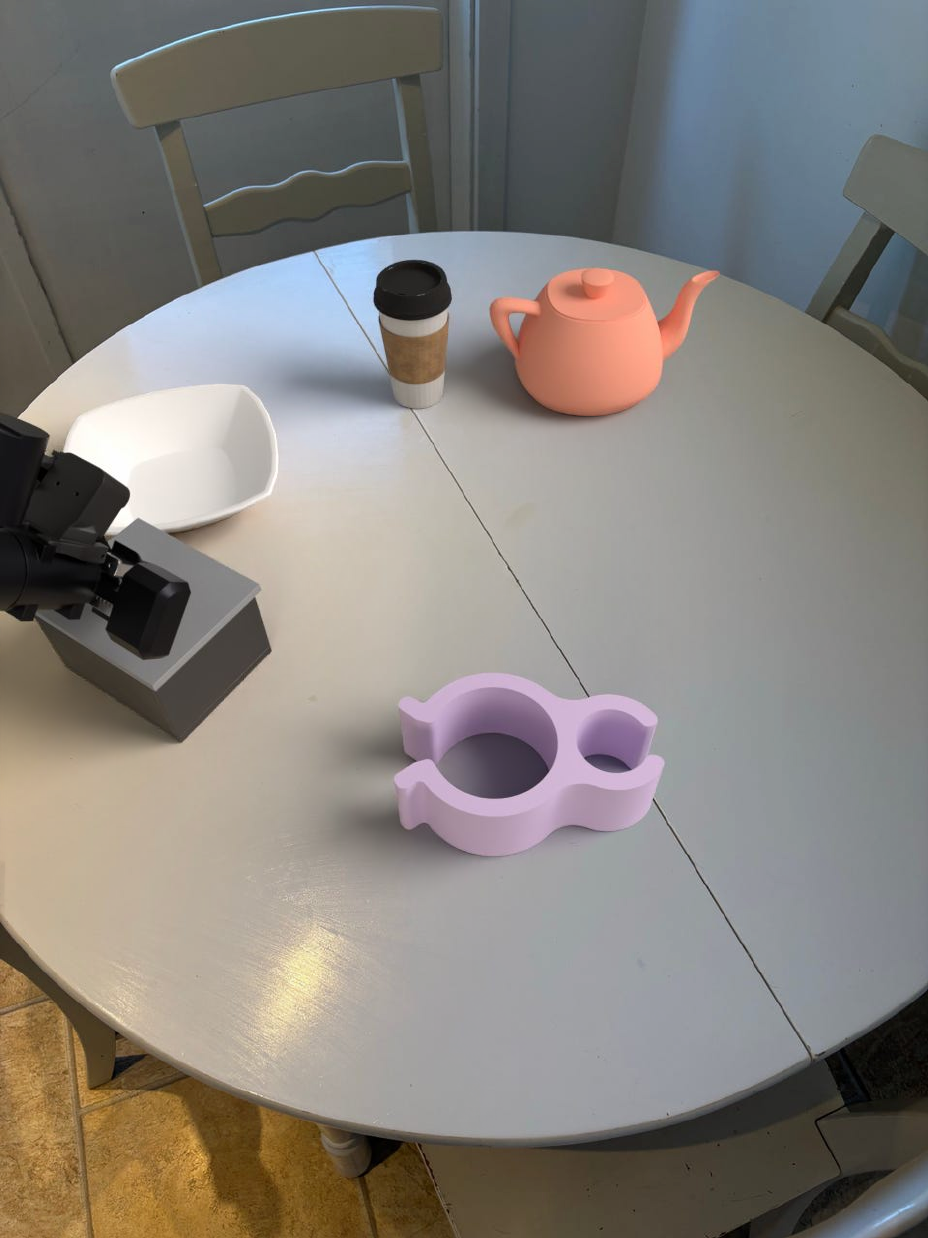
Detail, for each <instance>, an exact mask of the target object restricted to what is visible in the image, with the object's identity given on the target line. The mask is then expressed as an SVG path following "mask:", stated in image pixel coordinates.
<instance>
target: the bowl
mask: <svg viewBox="0 0 928 1238" xmlns="http://www.w3.org/2000/svg"><path fill="white" fill-rule="evenodd" d="M273 425H274V424H273V423H272V420H271V417H270V415H269V412H268V411H267V409H266V407H265V405H264V403H263V402H262V399H260V398H259V396H257V395H256V393H254V392H253V391H252V390H251V389H250V388H249V387H247V386H246V385H243V384H231V383H230V384H229V383H212V384H211V383H210V384H200V385H199V384H198V385H197V384H196V385H187V386H180V387H173V388H165V389H164V388H163V389H158V390H154V391H150V392H145V393H141V394H136V395H133V396H129V397H125V398H122V399H118V400H114V401H112V402H107V403H104V404H101V405H99V406H96V407H95V408H92V409H90V410H88V411H85V412H83V413H81V414H79V415H78V416H77V417H76V419H75V420H74V422H73V424H72V426H71V427H70V429H69V431H68V433H67V434H66V438H65V441H64V445H63V448H62V452H64V453H66V452H70V453H73V454H75V455H77V456H79V457H80V458H82V459H84V460H86V461H88V462H90V463H92V464H94V465H96V466H97V467H99V468H101V469H102V470H104V471H105V472H107V473H108V474H109V475H111V476H112V477H114V478H115V479H116V480H118V481H119V482H121V483H122V484H124V485H125V486H126V487H127V488H128V489H129V491H130V498H129V501H128V503H127V504H126V506H125V507H124V508H122V509H121V510H120V511H119V513H118V515H117V516H116V518H115V519H114V521H113V522H112V524H111V525H110V527H109V528H108V530H107V532H106V533H105V534H104V536H105V537H115V536H116V535H117V534H118V533H120V532H121V531H122V530H123V529H125V528H126V527H127V526H128V525H129V524H131V523H132V522H133V521H134V520H136V519H137V518H140V519H142V520H143V521H145V522H147V523H149V524H151V525H152V526H154V527H156V528H158V529H160V530H162V531H163V532H165V533H167V534H175V533H181V532H188V531H192V530H197V529H199V528H203V527H206V526H209V525H212V524H215V523H218V522H221V521H224V520H227V519H228V518H231V517H233V516H235V515H237V514H239V513H241V512H243V511H244V510H247V509H249V508H250V507H252V506H254V505H256V504H258V503H260V502H262V501H263V500H265V499H267V498H269V497H270V496H271V495H272V493H273V490H274V487H275V484H276V481H277V478H278V476H279V459H280V458H279V457H280V455H279V448H278V447H279V446H278V439H277V434H276V431H275V427H274V426H273Z"/></svg>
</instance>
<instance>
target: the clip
mask: <svg viewBox="0 0 928 1238" xmlns="http://www.w3.org/2000/svg"><path fill="white" fill-rule="evenodd" d="M398 712H399V719H400V729H401V736H402V742H403V751H404V753H405V754H406V755H407V756H408V757H410V758H412V759H413V760H414V761H415V762H413V763H411V764H410V765H408V766H407V767H405V768H404V769H402V770H400V771H399V772H397V773H396V774H395V775H394V778H393V783H394V789H395V795H396V796H395V797H396V801H397V808H398V809H397V810H398V815H399V822H400V824H401V826H402V827H403V828H404V829H405V830H407V831H410V830H413V829H415V828H416V827H417V826H419V825H421V824H427V825H428V826H429V827H430V828H431V830H432V831H433V832H434V833H435V834H436V835H437V836H438V837H439V838H440V839H442V840H443V841H445V842H446V843H447V844H449V845H450V846H452V847H454V848H456V849H458V850H460V851H463V852H465V853H469V854H471V855H476V856H483V857H505V856H511V855H515V854H518V853H521V852H525V851H527V850H529V849H531V848H534V847H535V846H536V845H538V844H540V843H541V842H542V841H544V840H545V839H546V838H547V837H548V836H549V835H550V834H552V833H553V832H554V831H556V830H558V829H560V828H563V827H569V826H579V827H584V828H587V829H590V830H593V831H598V832H616V831H617V832H618V831H622V830H626V829H627V828H630V827H632V826H634V825H635V824H637V823H638V822H640V820H642V819H643V818H644V817H645V816H646V815H647V813H648V812H649V810H650V808H651V805H652V803H653V799H654V796H655V794H656V790H657V787H658V785H659V781H660V779H661V776H662V773H663V769H664V767H665V760H664V759H663V757H661V756H660V755H657V754H649V751H650V748H651V745H652V741H653V739H654V736H655V732H656V729H657V725H658V722H659V718H658V716H657V715H656V714H655V713H654V711H652V710H651V709H650V708H649V707H647V706H646V705H644V704H643V703H641V702H640V701H638V700H636V699H634V698H630V697H628V696H624V695H620V694H619V695H618V694H612V693H611V694H610V693H607V694H606V693H605V694H604V693H603V694H596V695H592V696H588V697H586V698H581V699H566V698H563V697H560V696H557V695H555V694H553V693H551V692H550V691H549V690H547V689H546V688H545V687H543V686H541V685H540V684H538V683H536V682H534V681H532V680H530V679H527V678H525V677H523V676H519V675H514V674H509V673H503V672H482V673H476V674H470V675H467V676H464V677H460V678H458V679H456V680H454V681H451V682H449V683H447V684H446V685H444V686H443V687H442V688H440V689H439V690H438V691H436V692H435V693H434V694H433V695H431V696H430V698H428V700H426V701H423V702H421V701H419V700H417V699H416V698H414V697H413V696H408V695H407V696H404V697H402V698H401V699H400V701H399V702H398ZM481 734H502V735H507V736H511V737H514V738H516V739H519V740H520V741H523V742H524V743H526V744H527V745H529V747H531V748H533V749H534V750H535V751H536V752H537V753H538V754H539V756H540V758H542V760H543V761H544V762H545V763H544V764H545V765H546V767H547V769H548V773H547V774H546V775H545V777H544V778H542V780H540V782H538V783H537V784H536V785H535V786H533V787H532V788H530V789H528V790H527V791H525V792H522V793H519V794H517V795H514V796H513V795H512V796H509V797H503V798H487V797H486V798H485V797H480V796H476V795H472V794H470V793H467V792H466V791H465V792H464V791H463V790H460V789H459V788H457V787H455V785H453V784H452V783H450V782H449V781H448V780H447V779H446V778H445V777H444V776H443V774H442V773H441V772H440V771H439V769H438V767H437V766H438V765H439V763H440V761H441V760H442V758H443V757H444V755H446V753H447V752H448V751H449V750H450V749H451V748H452V747H454V746H455V745H457V744H458V743H459V742H461V741H463V740H465V739H468V738H471V737H473V736H476V735H477V736H478V735H481ZM593 755H605V756H610V757H614V758H616V759H618V760H620V761H621V762H623V763H624V764H625V765H626V766H627V767H628V768H629V769H630V770H627V771H623V772H610V771H609V772H608V771H605V770H602V769H599V768H597V767H595V766H593V765H592V764H591V763H590V762H588V761H587V760H586V759H585V758H587V757H589V756H593Z"/></svg>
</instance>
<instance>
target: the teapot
mask: <svg viewBox="0 0 928 1238" xmlns="http://www.w3.org/2000/svg"><path fill="white" fill-rule="evenodd" d="M720 274H721V273H720V270H707V271H703V272H701V273H698V274H696V275H694V276H692V277H691V278H689V280H688V281H686V282H685V284H684V285H683V286H682V287H681V289H680V290H679V293H678V295H677V297H676V300H675V302H674V304H673V307H672V308H671V310H670V311H669V312H668V314H666V315H665V316H664V317H663V318H661V319H660V320H657V316H656V314H655V311H654V309H653V307H652V305H651V302H650V300H649V297H648V296H647V294H646V292H645V290H644V288H643V286H642V285H641V283H639V281H638V280H637V279H635V278H634V277H633V276H632V275H630V274H628V273H626V272H622V271H619V270H615V269H609V268H602V267H590V268H578V269H572V270H568V271H564V272H562V273H559V274H557V275H555V276H553V277H552V278H551V279H549V280H548V282H546V284H545V285H544V286H543V287H542V289H541V290H540V291H539V293H538V294H537V296H536V297H535V298H534V300H533V299H532V300H531V299H527V298H521V297H514V296H501V297H498V298H496V299H494V300H493V301H492V302H491V303H490V305H489V311H488V312H489V317H490V321H491V322H490V323H491V325H492V327H493V329H494V330H495V332H496V334H497V335H498V337H499V338H500V340H501V341H502V343H503V344H504V345H505V346H506V348H507V349H508V350H509V351H510V352H511V354H512V355H513V357H514V366H515V371H516V373H517V376H518V378H519V381H520V382H521V384H522V386H523V387H524V389H525V390H526V391H527V392H528V394H529V395H530V396H531V397H532V398H533V399H534V400H535V401H536V402H537V403H538V404H540V405H541V406H543V407H545V408H546V409H549V410H552V411H553V412H556V413H561V414H565V415H572V416H578V417H579V416H580V417H581V416H582V417H597V416H606V415H612V414H616V413H620V412H622V411H625V410H628V409H631V408H633V407H634V406H635V405H637V404H639V403H640V402H642V401H643V400H645V399H646V398H647V397H648V396H650V395H651V394H652V393H653V392H654V390H655V389H656V388H657V386H658V385H659V383H660V381H661V378H662V372H663V365H664V364H663V363H664V361H665V360H666V359H668V358H669V357H670V356H672V355H673V354H674V353H675V352H676V351H677V350H678V349H679V348H680V347H681V346H682V344H683V342H684V341H685V338H686V336H687V334H688V331H689V327H690V323H691V319H692V316H693V315H692V314H693V310H694V308H695V303H696V301H697V299H698V297H699V295H700V294H701V292H702V291H703V290H704V289H705V287H706V286H707V285H709V284H710V283H712V281H714V280H715V279H716V278H718V277H719V276H720ZM512 314H523V315H524V317H523V319H522V321H521V324H520V328H519V331H518V334H517V338H516V335H515V334H514V332H513V329H512V326H511V322H510V316H511V315H512Z"/></svg>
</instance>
